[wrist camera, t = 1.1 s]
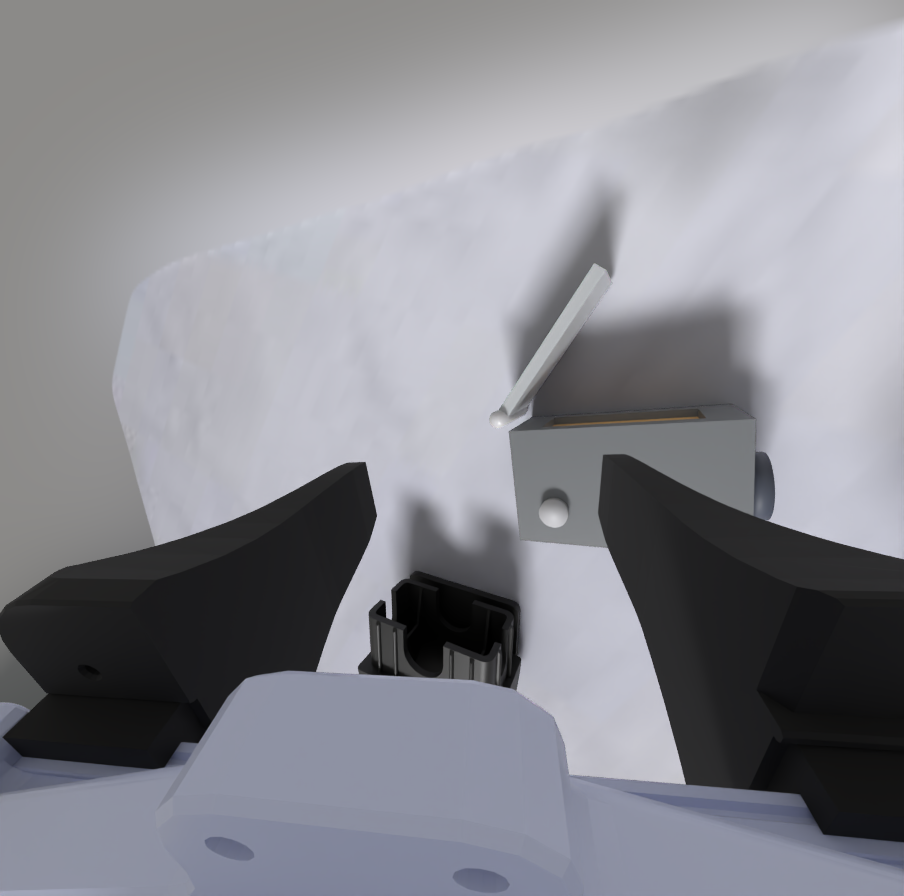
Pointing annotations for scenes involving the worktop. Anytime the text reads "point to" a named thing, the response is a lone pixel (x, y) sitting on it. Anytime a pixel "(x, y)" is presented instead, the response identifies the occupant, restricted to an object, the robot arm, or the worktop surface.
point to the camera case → (644, 438)
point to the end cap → (444, 633)
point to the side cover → (553, 346)
